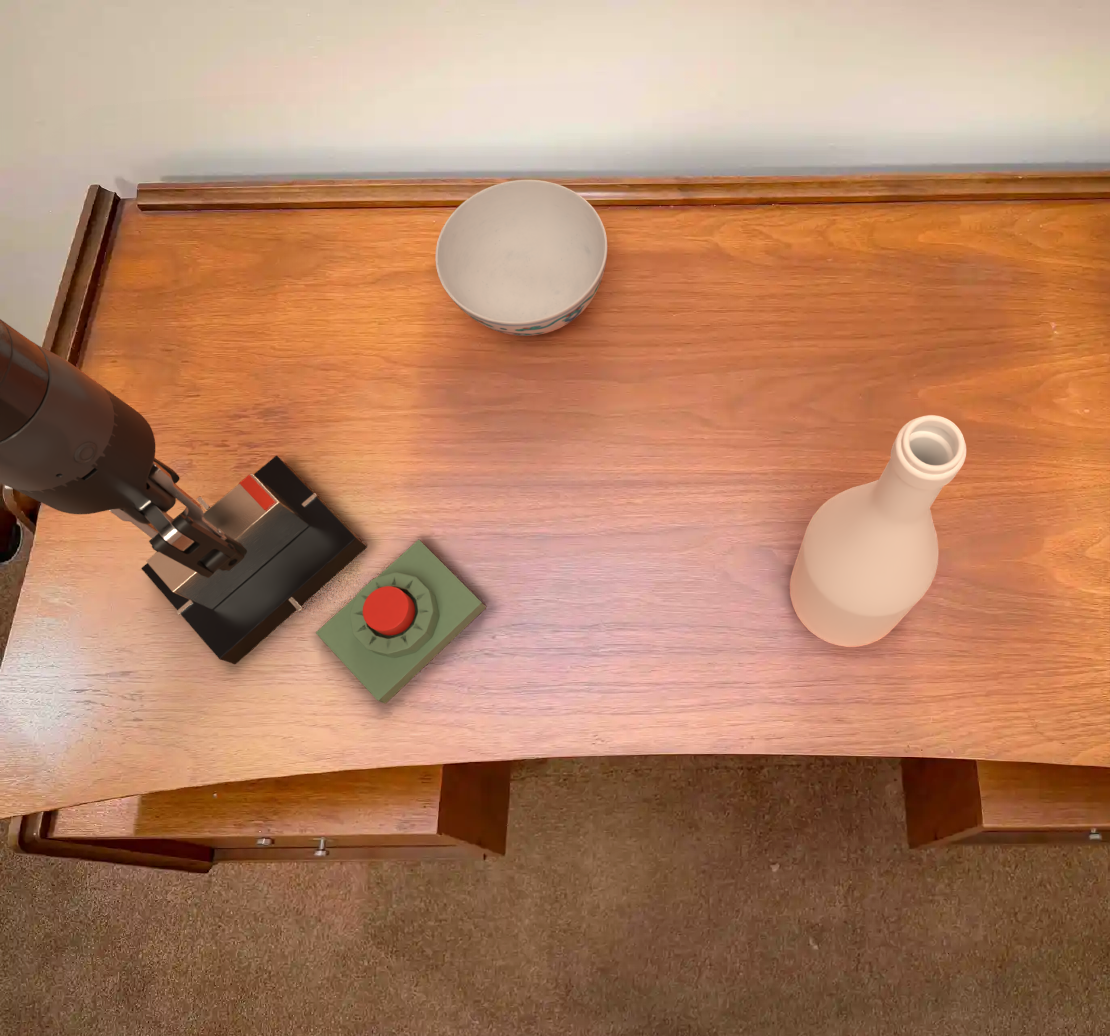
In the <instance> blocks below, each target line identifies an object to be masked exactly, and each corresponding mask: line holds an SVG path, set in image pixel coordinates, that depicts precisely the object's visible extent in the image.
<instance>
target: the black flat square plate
mask: <svg viewBox="0 0 1110 1036" xmlns="http://www.w3.org/2000/svg"><path fill="white" fill-rule="evenodd" d="M253 474H254V475H255V476H256V477H258V478H259V479H260V480H261V481H263V482H264V483H265V484H266V485H268V486H269V487H270V488H272V489H273V490H274V491H275V492H277V493H278V494H279V495H280V496H282V497H283V498H284V499H285V500H286V501H287V502H288V503H289V504H290V505H291V506H292V507H293V508H294V509H295V510H296V512H297V513H298V514H299V515H300V516H301V517H302V518H303V519H304V520H305V521H306V522H307V523H308V524H309V526H308V527H307V528H306V529H304V530H303V531H302V532H301V533H300V534H299V535H298V536H296V537H295V538H294V539H293V540H292V541H291V542H289V543H288V544H287V545H286V546H285V547H284V548H283V549H281V550H280V551H279V552H278V553H277V554H276V555H274V556H273V557H272V558H271V559H270V560H269V561H268V562H266V563H265V564H264V565H263V566H262V567H261V568H259V569H258V570H257V571H256V572H255V573H254V574H253V575H251V576H250V577H249V578H248V579H247V580H246V581H244V582H243V583H242V584H241V585H240V586H239V587H238V588H236V589H235V590H234V591H233V592H232V593H231V594H229V595H228V596H227V597H226V598H225V599H224V600H223V601H221V602H220V603H219V604H218V605H217V606H216V607H214V608H213V609H209V608H207V607H205V606H203V605H201V604H198V603H196V602H194V601H192V600H189V599H187V598H185V597H183V596H180V595H178V594H176V593H174V592H172V591H171V589H170V588H169V587H168V586H167V585H166V584H165V582H164V581H163V580H162V579H161V578H160V577H159V576H158V574H157V573H156V572H155V571H154V570H153V569H152V567H151V566H150V565H149V564H148V563H147V562H146V563H145V564H144V565H142V567H141V568H140V570H142V571H143V572H144V574H145V575H146V576H147V577H148V578H149V579H150V581H151V583H153V584H154V585H155V586H156V588H157V589H158V590H159V591H160V592H161V593H162V594H163V596H164V597H165V598H166V599H167V600H168V601H169V603H170V604H171V605H172V606H173V607H174V608H175V610H176V611H175V613H176V614H177V615H178V616H180V615H181V617H182V618H183V619H184V620H185V621H186V623H187V624H188V625H189V626H190V627H191V628H192V630H194V632H196V634H197V635H198V636H199V637H200V639H201V640H202V641H203V642H204V643H205V645H206V646H207V647H208V648H209V649H210V650H211V652H213V654H214V655H215V656H216V657H217V659H219V660H221V661H224V662H226V663H230V664H233V665H237V664H238V663H239V662H240V661H241V660H242V659H244V657H246V656H247V655H248V654H249V653H250V652H251V651H252V650H253V649H255V648H256V647H257V646H258V645H259V644H260V643H262V642H263V640H265V639H266V638H267V637H268V636H270V634H271V633H273V632H274V631H275V630H276V629H277V628H278V627H279V626H280V625H282V624H283V623H284V622H285V621H286V620H287V619H288V618H290V616H291V615H293V614H294V613H295V612H296V611H298V612H301V611H303V609H304V608H303V607H302V606H303V605H305V603H306V602H307V601H309V600H310V599H311V598H312V597H313V596H314V595H315V594H316V593H317V592H319V591H320V590H321V589H322V588H323V587H324V586H325V585H326V584H327V583H329V582H330V581H331V580H332V579H333V578H334V577H336V575H337V574H339V573H340V572H341V571H342V570H343V569H344V568H346V566H348V565H349V564H350V563H351V562H352V561H354V560H355V559H356V558H357V557H358V556H359V555H360V554H361V553H362V552H363V551H364V550H366V549H367V548H368V546H367V545H366V544H365V543H364V542H363V541H362V540H361V538H359V537H358V536H357V534H355V533H354V531H353V530H351V528H350V527H349V526H348V525H347V524H346V523H345V522H344V521H343V520H342V519H341V518H340V517H339V516H338V515H337V514H336V513H335V512H334V510H332V509H331V507H329V506H328V505H327V503H326V502H325V501H324V500H323V499H322V498H320V496H319V495H318V494H317V493H316V492H315V491H314V490H313V489H312V488H311V487H310V486H309V485H308V484H307V483H306V481H304V480H303V479H302V478H301V477H300V475H298V474H297V472H295V471H294V470H293V468H291V466H289V465H288V464H287V463H286V462H285V461H284V460H283V459H282V458H281V457H280V456H278V455H274V457H272V458H271V459H270V460H269V461H268V462H266V463H265V464H264V465H263V466H262V467H260V468H259V469H258V470H257V471H255V473H253ZM196 501H197V502H198V503H199V504H200V506H201V507H203V508H204V509H205V511H207V510H208V509H209V508H210V507H211V506H210V505H209V504H208V503H207V502H206V501H205V499H203V497H201V496H198V497H197V498H196Z"/></svg>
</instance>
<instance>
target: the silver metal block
mask: <svg viewBox="0 0 1110 1036" xmlns="http://www.w3.org/2000/svg"><path fill="white" fill-rule="evenodd" d="M254 474H255V473H250V474H248V475H247V476H245V478H243V479H242V480H241V481H240V482H239V483H238V484H237V485H236V486H234V487H233V488H232V489H230V491H228V492H227V493H226V494H225V495H223V496H222V497H220V499H218V500H217V502H215V503H214V504H213V505H211V506H210V508H209V509H208V510H205V511H203V513H204V515H203V517H204V518H205V519H206V520H207V521H208V522H210V523H211V524H212V525H213V526H214V527H216V528H217V529H220V530H222V531H223V532H224V534H226V535H227V536H229V537H231V538H232V539H234V540H236V541H237V542H239V543H241V544H242V545H243V547H244V548H245V549H246V550H247V553H246V555H245V556H244V557H245V558H244V559H242V560H241V561H240V562H239V563H238V564H237V565H235V566H234V567H233V568H232V569H231V570H230V571H227V570H225V571H222V570H220V569H218V570H216V571H215V572H214V574H213V575H211V576H210V577H209V578H207V577H205V576H202V575H200V574H199V573H197V572H196V571H194V570H192V569H190V568H188V567H186V566H184V565H182V564H180V563H179V562H177V561H175V560H173V559H171V558H169V557H167V556H165V555H164V554H162V553H160V552H157V551H155V553H154V554H153V555H152V556H150V557H148V559H147V560H146V564H147V563H148V564H149V565H150V566H151V567H152V569H153V570H154V571H155V572H156V573H157V574H158V576H159V577H160V578H161V579H162V580H163V581H164V582H165V584H166V585H167V586H168V587H169V588H170V589H171V591H172V592H174V593H176V594H178V595H180V596H183V597H185V598H187V599H189V600H192V601H194V602H196V603H198V604H201V605H203V606H205V607H207V608H209V609H213V608H214V607H216V606H217V605H218V604H219V603H220V602H221V601H223V600H224V599H225V598H226V597H227V596H228V595H229V594H231V593H232V592H233V591H234V590H235V589H236V588H238V587H239V586H240V585H241V584H242V583H243V582H244V581H246V580H247V579H248V578H249V577H250V576H251V575H253V574H254V573H255V572H256V571H257V570H258V569H259V568H261V567H262V566H263V565H264V564H265V563H266V562H268V561H269V560H270V559H271V558H272V557H273V556H274V555H276V554H277V553H278V552H279V551H280V550H281V549H283V548H284V547H285V546H286V545H287V544H288V543H289V542H291V541H292V540H293V539H294V538H295V537H296V536H298V535H299V534H300V533H301V532H302V531H303V530H304V529H306V528H307V527H308V526H309V524H308V523H307V522H306V521H305V520H304V519H303V518H302V517H301V516H300V515H299V514H298V513H297V512H296V510H295V509H294V508H293V507H292V506H291V505H290V504H289V503H288V502H287V501H286V500H285V499H284V498H283V497H282V496H280V495H279V494H278V493H277V492H275V491H274V490H273V489H272V488H270V487H269V486H268V485H266V484H265V483H264V482H263V481H261V480H260V479H259V478H258V477H256V476H255V475H254Z"/></svg>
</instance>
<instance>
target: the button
mask: <svg viewBox="0 0 1110 1036" xmlns="http://www.w3.org/2000/svg"><path fill="white" fill-rule="evenodd" d="M414 616H415V606H414V603H413V601H412V599H411V598H410V597H409V596H408V595H407V594H405V593H404V592H403V591H401V590H400V589H398V588H396V587H392V586H385V587H381V588H378V589H376V590H375V591H373V592H372V593H371V594H370V595H369V596H368V597H367V599H366V600H365V603H364V606H363V617H364V620H365V622H366V623H367V624H368V625H369V626H370V627H371V628H373V629H374V630H376V631H377V632H379V633H381V634H384V635H396V634H399V633H401V632H403V631H405V630H406V629H407V628H408V627H409V626H410V625H411V623H412V621H413V619H414Z"/></svg>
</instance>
